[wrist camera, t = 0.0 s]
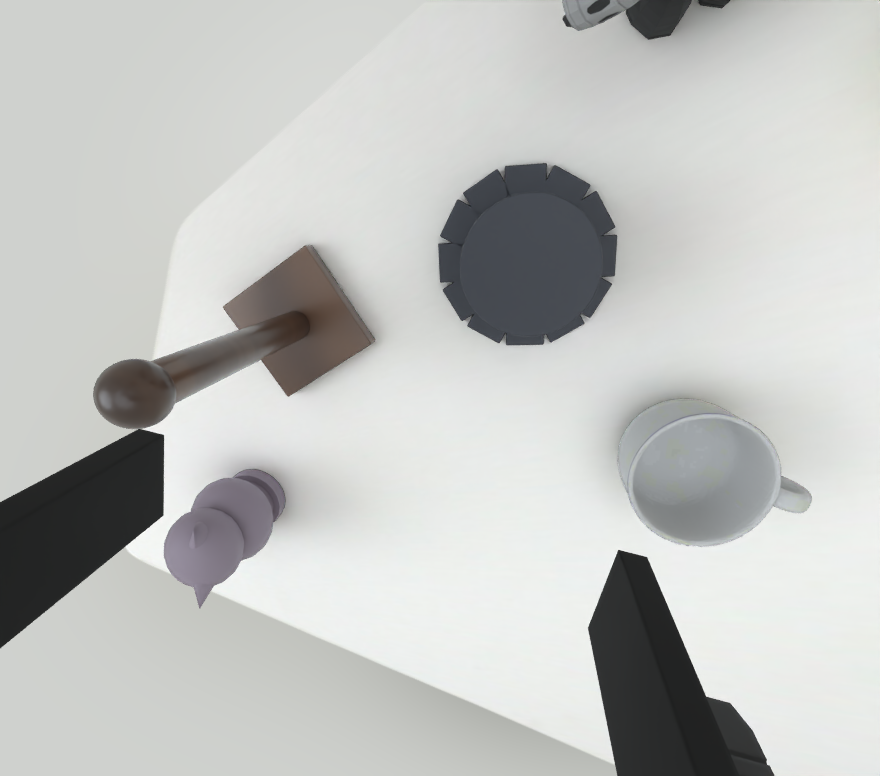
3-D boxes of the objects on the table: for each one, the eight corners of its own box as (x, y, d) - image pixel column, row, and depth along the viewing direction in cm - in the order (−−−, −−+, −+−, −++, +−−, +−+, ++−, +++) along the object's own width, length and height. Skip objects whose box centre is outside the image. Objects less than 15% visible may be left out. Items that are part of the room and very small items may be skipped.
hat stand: (312, 244, 42) (105, 256, 21) (375, 340, 44) (247, 442, 22) (231, 304, 45) (-25, 370, 23) (294, 392, 47) (111, 527, 25)
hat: (560, 125, 37) (578, 88, 27) (646, 287, 39) (689, 304, 30) (407, 232, 41) (377, 232, 31) (495, 372, 43) (490, 411, 34)
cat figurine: (218, 454, 50) (133, 519, 39) (289, 463, 49) (224, 532, 38) (225, 524, 53) (147, 603, 42) (292, 534, 52) (232, 617, 41)
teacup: (587, 466, 45) (603, 513, 37) (647, 364, 41) (678, 393, 34) (723, 525, 45) (767, 584, 37) (795, 428, 41) (860, 472, 34)
